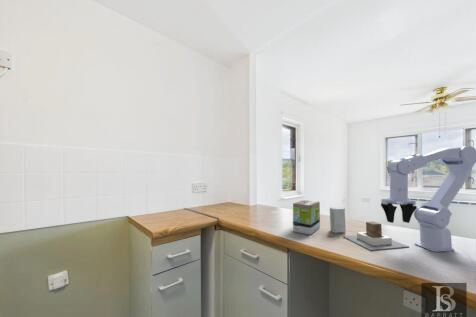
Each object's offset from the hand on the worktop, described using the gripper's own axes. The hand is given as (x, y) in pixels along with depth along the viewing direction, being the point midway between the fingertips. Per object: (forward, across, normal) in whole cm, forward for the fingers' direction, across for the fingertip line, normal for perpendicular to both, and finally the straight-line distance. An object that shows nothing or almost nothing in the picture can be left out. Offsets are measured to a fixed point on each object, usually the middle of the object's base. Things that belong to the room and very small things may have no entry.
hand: (398, 222), depth 83 cm
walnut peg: (+10, +4, -7) cm, 13 cm away
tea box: (+12, +24, -30) cm, 40 cm away
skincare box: (+12, +10, -24) cm, 28 cm away
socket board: (+11, +4, -8) cm, 14 cm away
